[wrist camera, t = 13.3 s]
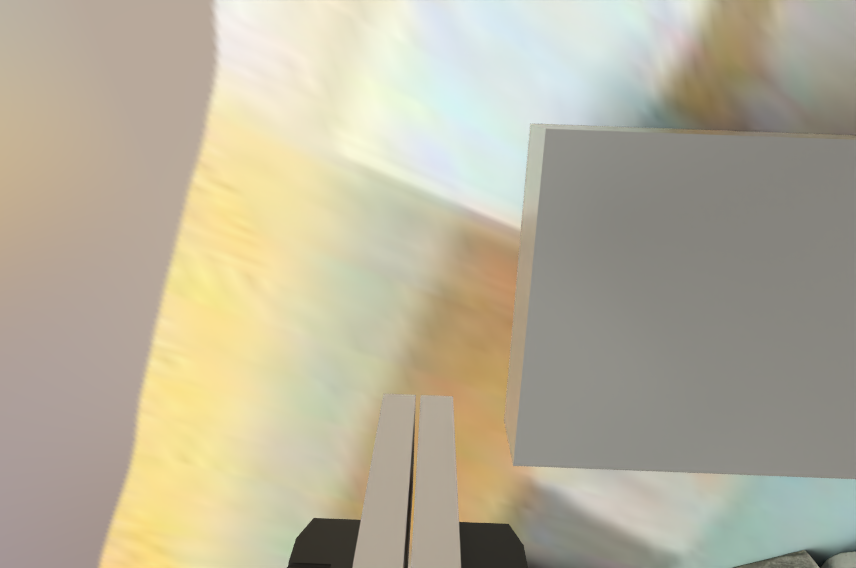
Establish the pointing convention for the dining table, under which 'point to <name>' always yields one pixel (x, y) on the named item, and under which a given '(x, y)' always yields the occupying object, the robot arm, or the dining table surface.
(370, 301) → the dining table surface
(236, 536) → the dining table surface
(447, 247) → the dining table surface
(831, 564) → the ceramic mug
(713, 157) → the slab
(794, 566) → the stone block
